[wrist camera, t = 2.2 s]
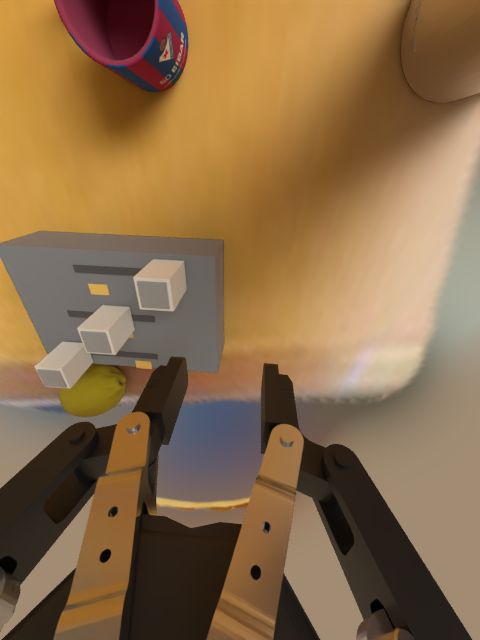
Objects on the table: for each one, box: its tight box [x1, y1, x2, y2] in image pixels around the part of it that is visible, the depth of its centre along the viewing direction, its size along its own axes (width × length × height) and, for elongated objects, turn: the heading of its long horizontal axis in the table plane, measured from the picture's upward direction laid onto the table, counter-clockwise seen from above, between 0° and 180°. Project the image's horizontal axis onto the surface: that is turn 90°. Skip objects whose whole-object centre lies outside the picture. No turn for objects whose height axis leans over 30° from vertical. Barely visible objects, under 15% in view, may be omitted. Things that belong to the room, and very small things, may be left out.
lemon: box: [59, 364, 126, 417], centre depth 38 cm, size 11×8×8 cm
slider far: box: [35, 342, 93, 389], centre depth 29 cm, size 3×3×5 cm
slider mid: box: [77, 305, 135, 355], centre depth 26 cm, size 3×3×5 cm
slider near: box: [133, 259, 187, 311], centre depth 23 cm, size 3×3×5 cm
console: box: [0, 231, 224, 373], centre depth 31 cm, size 22×16×6 cm
